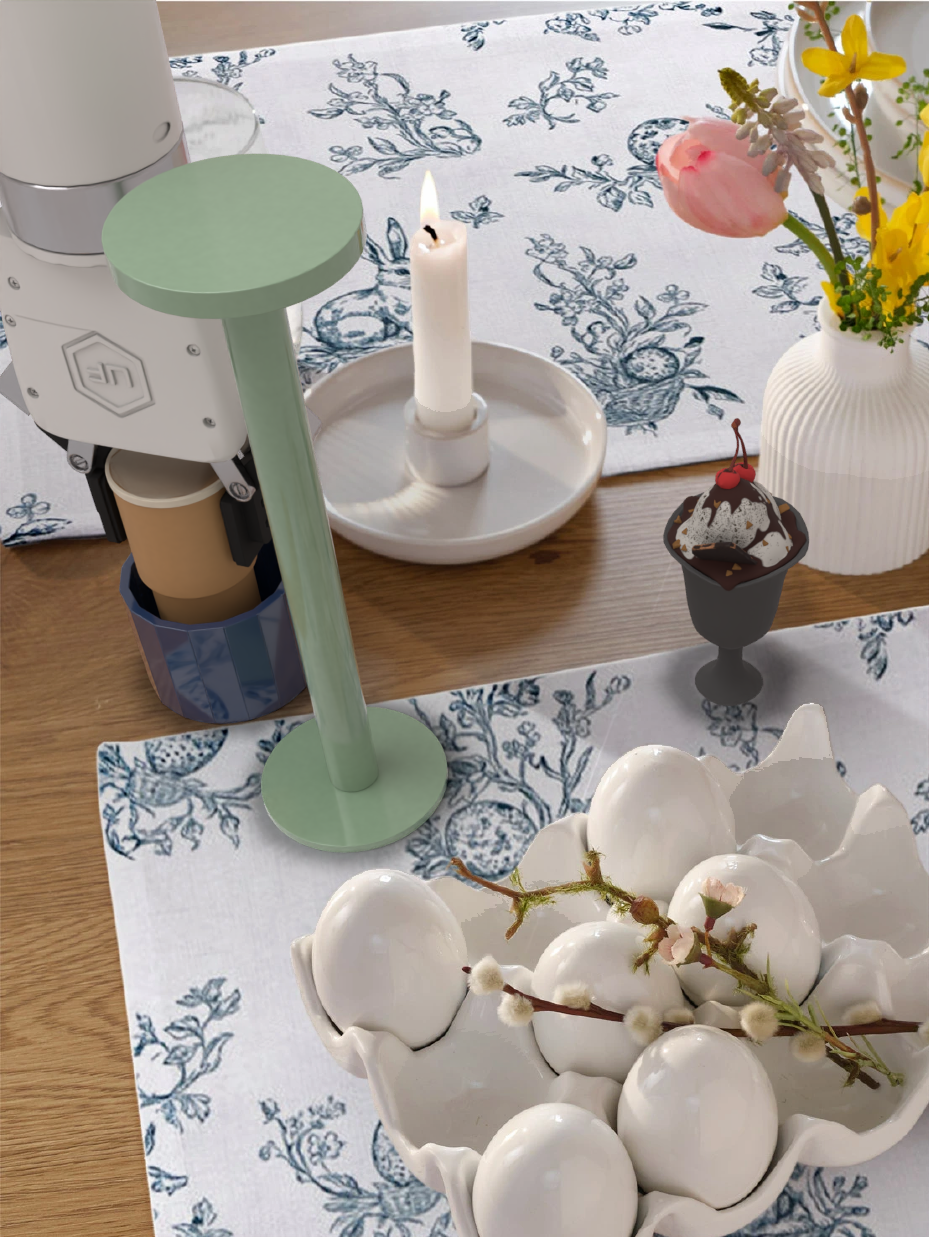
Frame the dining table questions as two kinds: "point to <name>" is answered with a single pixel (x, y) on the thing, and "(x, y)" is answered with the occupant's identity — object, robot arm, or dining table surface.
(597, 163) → the dining table surface
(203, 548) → the paper cup
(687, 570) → the sundae
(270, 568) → the mug
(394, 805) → the green pedestal stand
